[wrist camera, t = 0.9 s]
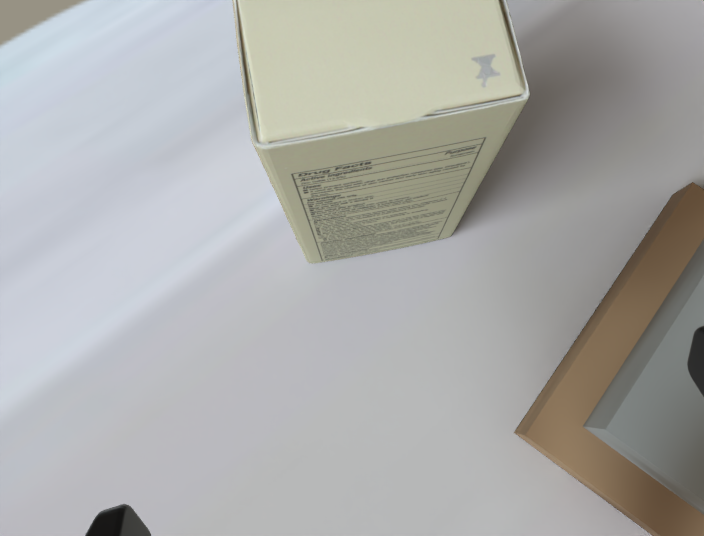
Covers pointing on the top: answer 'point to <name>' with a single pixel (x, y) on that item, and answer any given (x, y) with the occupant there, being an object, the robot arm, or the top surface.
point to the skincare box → (377, 113)
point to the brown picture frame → (637, 384)
